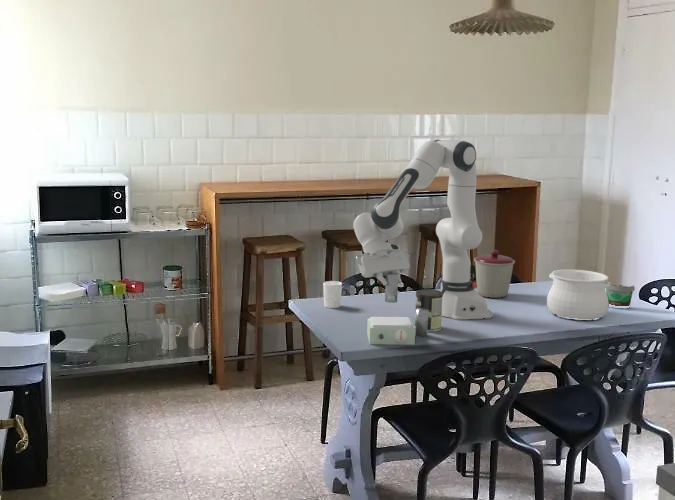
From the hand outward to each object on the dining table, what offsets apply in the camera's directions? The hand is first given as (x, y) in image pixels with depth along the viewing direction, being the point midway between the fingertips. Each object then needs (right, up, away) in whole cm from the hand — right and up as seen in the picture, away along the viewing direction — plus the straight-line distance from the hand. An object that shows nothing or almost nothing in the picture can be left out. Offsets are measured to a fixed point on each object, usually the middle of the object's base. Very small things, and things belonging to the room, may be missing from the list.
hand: (392, 283), depth 280 cm
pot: (+79, -15, +43) cm, 91 cm away
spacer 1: (-1, -6, +2) cm, 7 cm away
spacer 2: (+11, -20, +9) cm, 24 cm away
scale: (-1, -20, +3) cm, 21 cm away
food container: (+101, -13, +55) cm, 115 cm away
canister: (+50, -9, +72) cm, 88 cm away
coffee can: (+15, -18, +19) cm, 30 cm away
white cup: (-22, -12, +48) cm, 54 cm away
